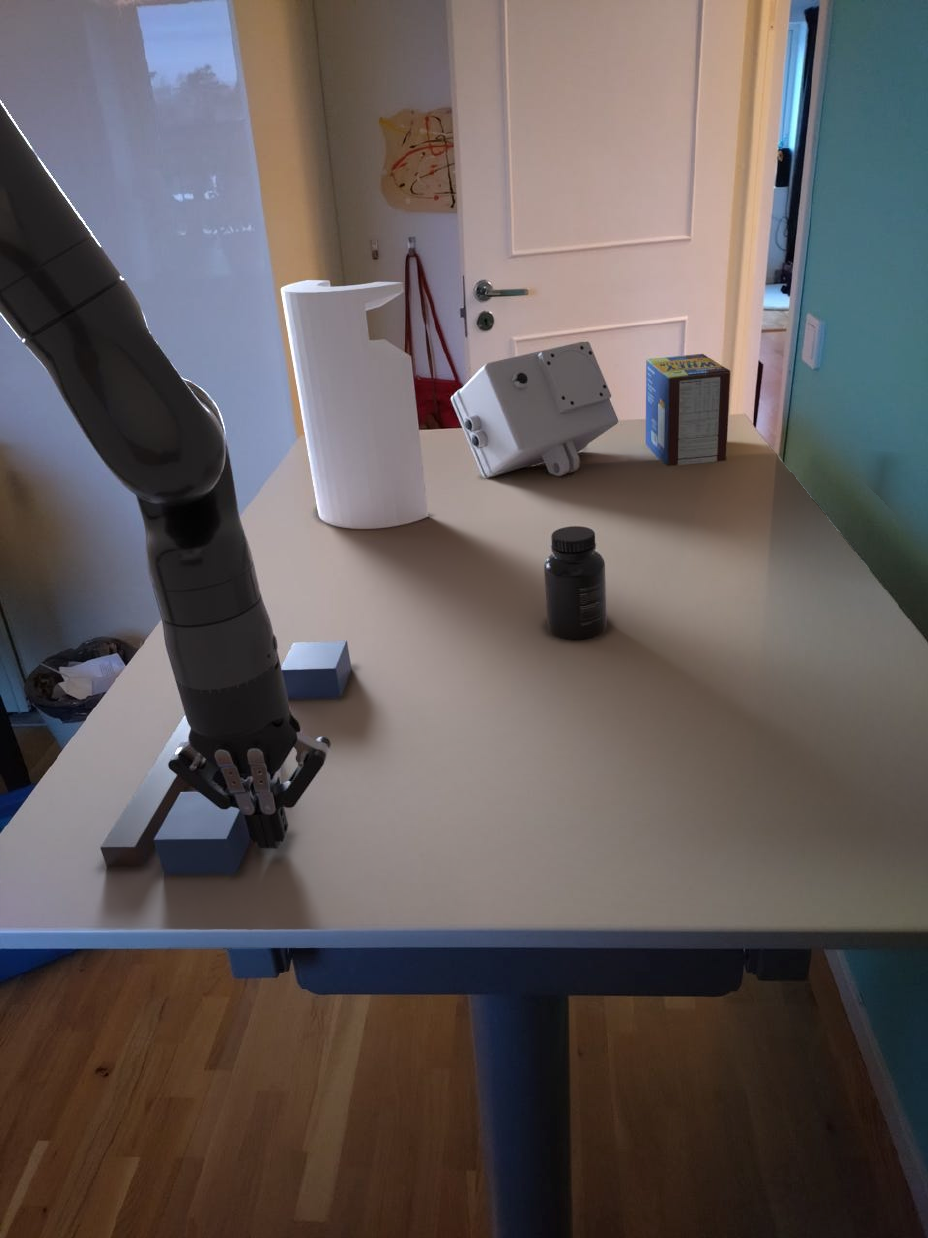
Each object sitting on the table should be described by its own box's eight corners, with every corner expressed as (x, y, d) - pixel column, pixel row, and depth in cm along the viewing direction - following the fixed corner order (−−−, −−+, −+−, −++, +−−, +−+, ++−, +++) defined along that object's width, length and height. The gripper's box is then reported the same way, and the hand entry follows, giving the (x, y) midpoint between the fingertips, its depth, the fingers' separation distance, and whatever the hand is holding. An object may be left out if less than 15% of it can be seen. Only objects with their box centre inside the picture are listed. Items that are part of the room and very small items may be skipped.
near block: (165, 878, 72) (153, 840, 70) (191, 828, 77) (180, 791, 76) (236, 878, 71) (226, 839, 70) (258, 828, 77) (249, 790, 75)
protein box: (700, 438, 166) (703, 352, 159) (726, 462, 152) (732, 370, 145) (644, 443, 166) (645, 358, 159) (665, 468, 152) (668, 376, 145)
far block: (285, 702, 95) (279, 670, 93) (299, 673, 100) (293, 642, 98) (341, 701, 94) (335, 668, 92) (352, 672, 99) (347, 640, 98)
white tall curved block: (344, 495, 154) (432, 517, 141) (292, 516, 146) (379, 541, 133) (311, 279, 138) (407, 281, 125) (251, 290, 131) (346, 294, 117)
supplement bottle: (605, 615, 106) (603, 520, 101) (608, 643, 100) (607, 544, 95) (547, 617, 107) (542, 523, 102) (546, 645, 101) (542, 546, 96)
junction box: (527, 478, 140) (474, 349, 141) (484, 508, 154) (436, 390, 154) (638, 443, 152) (589, 324, 152) (590, 474, 165) (544, 364, 166)
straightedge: (107, 871, 73) (99, 847, 72) (226, 676, 101) (221, 656, 100) (142, 871, 73) (135, 847, 72) (251, 675, 101) (247, 655, 99)
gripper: (118, 690, 63) (178, 876, 71) (300, 682, 61) (342, 873, 69) (158, 638, 69) (210, 814, 77) (324, 630, 68) (359, 809, 76)
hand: (272, 841), depth 73 cm, fingers closed
